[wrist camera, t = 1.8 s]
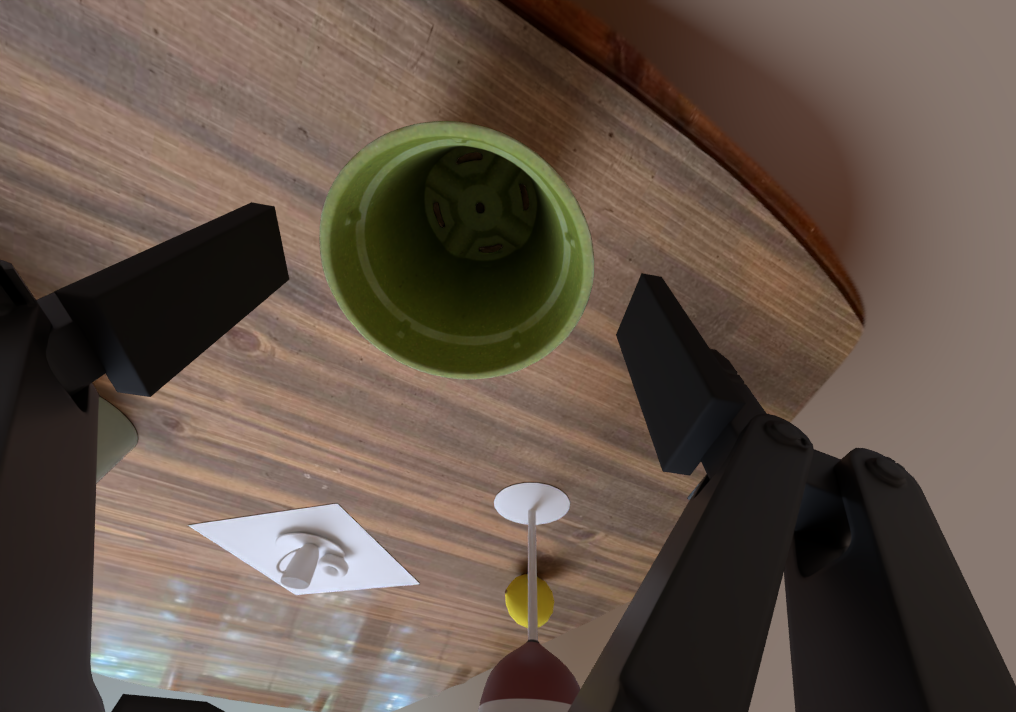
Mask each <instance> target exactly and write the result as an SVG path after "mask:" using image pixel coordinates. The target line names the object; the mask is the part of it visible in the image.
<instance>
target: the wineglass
mask: <svg viewBox="0 0 1016 712" xmlns="http://www.w3.org/2000/svg"><path fill="white" fill-rule="evenodd" d="M494 504H495V509H496V510H497V511H498V513H499V514H500V515H502V516H503V517H505V518H506V519H508V520H511V521H514V522H516V523H522V524H528V641H527V642H526V643H525V644H524V645H522V646H521V647H519V648H518V649H516V650H514V651H513V652H511V653H509V654H508V655H507V656H505V657H504V658H503V659H502V660H501V661H499V663H498V664H497V665H496V666H495V667H494V669H493V670H492V671H491V673H490V675H489V677H488V679H487V682H486V685H485V688H484V691H483V694H482V698H481V701H480V705H479V710H478V712H568V710H569V708H570V707H571V705H572V703H573V701H574V700H575V698H576V696H577V694H578V693H579V691H580V687H579V685H578V683H577V681H576V679H575V677H574V676H573V674H572V673H571V672H570V671H569V669H568V668H567V667H566V666H565V665H564V664H563V663H562V662H561V661H560V660H559V659H558V658H557V657H556V656H554V655H553V654H552V653H550V652H549V651H548V650H546V649H545V648H544V647H543V646H542V645H540V643H539V642H538V621H537V560H536V525H538V524H545V523H550V522H553V521H555V520H558V519H560V518H561V517H562V516H564V515H565V514H566V513H567V511H568V510H569V507H570V501H569V499H568V497H567V495H566V494H564V493H563V492H562V491H561V490H559V489H557V488H555V487H552V486H550V485H546V484H540V483H521V484H516V485H512V486H510V487H507V488H505V489H503V490H502V491H501V492H500V493H499V494H497V496H496V498H495V500H494Z"/></svg>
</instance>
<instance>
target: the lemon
mask: <svg viewBox="0 0 1016 712" xmlns="http://www.w3.org/2000/svg"><path fill="white" fill-rule="evenodd" d="M505 598H506V606H507V608H508V611H509V614H510V615H511V617H512V618H513V619H514V620H515V621H516V622H517V624H519V625H522V626H524V627H526V628H528V574H524V575H521V576H518V577H516V578H515V579H514V580H513V581H512V582H511V583H510V585H509V586H508V588H507V589H506V591H505ZM553 606H554V599H553V595H552V591H551V590H550V588H549V586H548V585H547V583H546V582H545V581H543V580H542V579H540V578H539V577H537V621H538V627H540V626H542V625H543V624H545V623H546V622H547V621H548V619H549V617H550V616H551V614H552V613H553Z"/></svg>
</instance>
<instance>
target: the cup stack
mask: <svg viewBox="0 0 1016 712" xmlns="http://www.w3.org/2000/svg"><path fill="white" fill-rule="evenodd" d="M137 441H138V436H137V433H136V430H135V428H134V426H133V425H132V424H131V422H130V421H129V420H128V419H127V418H126V417H125V415H124V414H122V413H121V412H120V411H119V410H118V409H117V408H115V407H114V406H113V405H111V404H110V403H109V402H107V401H106V400H104V399H103V398H101V397H99V410H98V441H97V472H96V484H97V483H98V482H99V481H100V480H101V479H102V478H103V477H104V476H105V475H106V474H107V473H108V472H110V471H111V470H112V469H113V468H114V467H115V466H116V465H117V464H118V463H119V462H120V461H121V460H122V459H123V458H124V457H125V456H126V455H127V454H128V453H129V452H130V451H131V450H133V449H134V447H135V446H136V444H137Z"/></svg>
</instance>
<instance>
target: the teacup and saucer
mask: <svg viewBox="0 0 1016 712" xmlns="http://www.w3.org/2000/svg"><path fill="white" fill-rule="evenodd" d="M274 546H275V548H276V549H277V550H278V551H279V552H280V553H281V554H282V555H283V556H282V557H281V558H280V559H279V560H278V562H277V563H276V565H275V570H276V572H277V573H278V574H279V575H281V577H280V579H279V582H280V583H281V584H282V586H283V587H287V588H290V589H294V590H306V589H308V588H309V587H310V585H311V583H312V580H313V577H314V575H315V572H316V569H317V567H318V569H319V570H320V571H321V572H322V573H323V574H324V575H325V576H327V577H330V578H333V579H341V578H344V577H345V576H346V575H347V574H348V573H349V569H350V566H349V563H348V562H347V561H346V560H345V557H346V554H345V552H344V550H343V549H342V548H341V547H340V546H339V545H338V544H336V543H335V542H333V541H332V540H330V539H327V538H325V537H322V536H319V535H315V534H311V533H305V532H289V533H284V534H281V535H279V536H278V537H277V538H276V539H275V541H274ZM285 558H288V559H290V561H289V562H288V564H287V566H286V568H285V569H284V570H281V567H280V566H281V563H282V562H283V560H284V559H285Z"/></svg>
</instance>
